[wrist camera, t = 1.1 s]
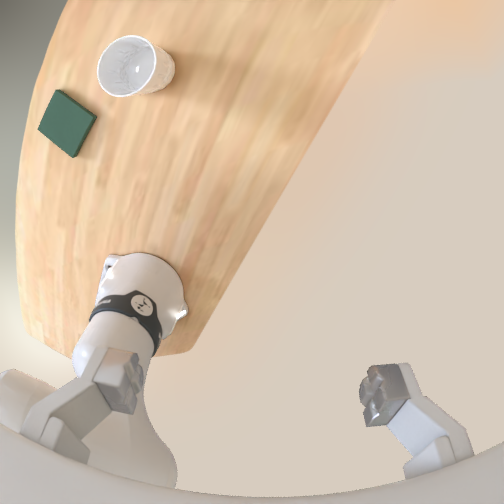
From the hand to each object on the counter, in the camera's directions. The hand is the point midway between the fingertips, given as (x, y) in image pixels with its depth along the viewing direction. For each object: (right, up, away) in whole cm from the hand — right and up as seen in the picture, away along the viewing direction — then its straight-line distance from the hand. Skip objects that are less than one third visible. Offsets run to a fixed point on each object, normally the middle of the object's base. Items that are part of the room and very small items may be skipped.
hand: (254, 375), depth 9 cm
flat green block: (-31, +26, +29) cm, 49 cm away
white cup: (-14, +30, +26) cm, 42 cm away
